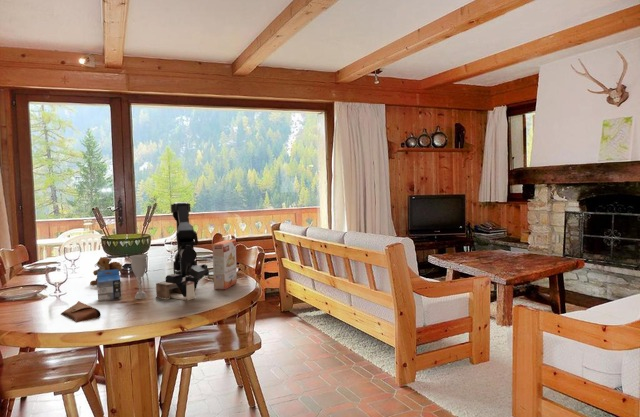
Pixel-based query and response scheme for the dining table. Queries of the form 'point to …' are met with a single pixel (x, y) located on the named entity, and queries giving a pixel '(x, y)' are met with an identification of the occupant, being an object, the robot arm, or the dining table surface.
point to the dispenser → (166, 289)
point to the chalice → (139, 272)
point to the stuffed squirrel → (105, 267)
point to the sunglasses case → (81, 312)
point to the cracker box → (224, 264)
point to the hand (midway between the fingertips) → (188, 295)
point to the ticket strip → (189, 292)
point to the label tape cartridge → (108, 285)
